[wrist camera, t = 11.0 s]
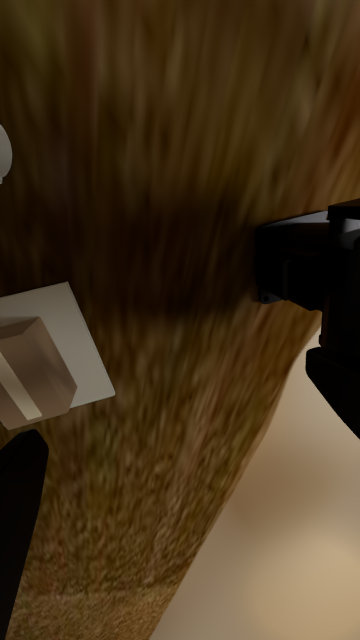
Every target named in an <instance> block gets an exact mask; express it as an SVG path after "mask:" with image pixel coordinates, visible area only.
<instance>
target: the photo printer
mask: <svg viewBox="0 0 360 640" xmlns="http://www.w3.org/2000/svg"><path fill="white" fill-rule="evenodd" d="M11 164H12V149H11V144H10V141H9V138H8V136H7V134H6V132H5V130H4V128H3V127H2V126H1V124H0V184H2V177H5V176H6V175H7V173H8V172H9V170H10V167H11Z"/></svg>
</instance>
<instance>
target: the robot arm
mask: <svg viewBox="0 0 360 640" xmlns="http://www.w3.org/2000/svg"><path fill="white" fill-rule="evenodd" d="M327 215H328V218H327V219H326V216H327ZM262 229H263V230H264V234H263V235H262V236H261V234H260V232H261V230H262ZM255 245H256V254H255V256H254V263H255V280H256V286H258V298H259V301H260V302H261V303H262V304H269V303H272V302H276V301H280V300H285V301H287V300H289V301H291V302H293V303H295V304H297V305H299V306H301V307H303V308H305V309H307V310H309V311H313V310H319V311H321V312H322V324H321V334H320V335H319V344H320V346H321V347H316V348H312V349H309V350H308V351H307V352H306V367H305V368H306V373H307V375H308V377H309V378H310V379H311V381H312V382H313V383H314V385H315V386H316V387H317V389H318V390H319V391H320V393H321V394H322V395H323V397H324V398H325V399H326V401H327V402H328V403H329V405H330V406H331V407H332V409H333V410H334V411H335V412H336V413H337V415H338V416H339V417H340V418H341V419H342V421H343V422H344V423H345V424H346V425H347V426H348V427H349V428H350V429H351V431H353V433H354V434H355V435H356V436H357V437H358V438H359V439H360V198H359V199H355V200H350V201H346V202H342V203H338V204H333V205H329V206H328V210H325V211H321V212H316V213H312V214H308V215H304V216H299V217H295V218H291V219H287V220H282V221H278V222H274V223H270V224H265V225H261V226H259V227H257V229H256V231H255ZM265 296H266V299H265V300H263V299H264V297H265ZM48 454H49V449H48V445H47V443H46V442H45V441H44V439H43V438H42V436H41V435H40V433H39V432H38V430H36V429H29V430H26V431H22V432H20V433H18V434H17V435H16V436H15V437H14V438H13V439H12V440H11V441H10V442H8V443H7V444H6V445H5V446H4V447H3V448H2V449H1V450H0V640H5V637H6V633H7V630H8V626H9V622H10V618H11V614H12V611H13V607H14V603H15V599H16V595H17V592H18V588H19V584H20V580H21V576H22V573H23V569H24V565H25V561H26V557H27V554H28V550H29V546H30V542H31V538H32V535H33V531H34V527H35V523H36V519H37V515H38V511H39V506H40V501H41V496H42V490H43V484H44V478H45V472H46V466H47V460H48Z"/></svg>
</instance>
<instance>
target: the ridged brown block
mask: <svg viewBox="0 0 360 640" xmlns="http://www.w3.org/2000/svg"><path fill="white" fill-rule="evenodd" d="M76 390H77V385H76V383H75V381H74V379H73V377H72V375H71V373H70V372H69V370H68V368H67V366H66V364H65V362H64V360H63V358H62V357H61V355H60V353H59V351H58V349H57V347H56V345H55V343H54V342H53V340H52V338H51V336H50V334H49V332H48V330H47V328H46V326H45V325H44V323H43V321H42V319H41V317H36V318H32V319H29V320H25V321H21V322H17V323H13V324H9V325H6V326H2V327H0V420H1V422H2V423H3V424H4V425H5V427H6V428H7V429H8V430H11V429H14V428H18V427H21V426H24V425H28V424H31V423H34V422H38V421H41V420H45V419H48V418H51V417H55V416H58V415H62V414H65V413H68V412H69V409H70V406H71V403H72V401H73V398H74V395H75V392H76Z"/></svg>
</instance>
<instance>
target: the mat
mask: <svg viewBox="0 0 360 640" xmlns="http://www.w3.org/2000/svg"><path fill="white" fill-rule="evenodd" d="M36 317H41V319H42V321H43V323H44V325H45V326H46V328H47V330H48V332H49V334H50V336H51V338H52V340H53V342H54V343H55V345H56V347H57V349H58V351H59V353H60V355H61V357H62V358H63V360H64V362H65V364H66V366H67V368H68V370H69V372H70V373H71V375H72V377H73V379H74V381H75V383H76V385H77V390H76V392H75V395H74V398H73V401H72V403H71V406H70V408H72V407H75V406H79V405H82V404H86V403H90V402H93V401H97V400H100V399H104V398H107V397H111V396H114V395H115V391H114V389H113V386H112V384H111V382H110V379H109V377H108V375H107V372H106V370H105V367H104V365H103V363H102V360H101V358H100V356H99V353H98V351H97V349H96V346H95V344H94V342H93V339H92V337H91V335H90V332H89V330H88V328H87V325H86V323H85V321H84V318H83V316H82V314H81V311H80V309H79V307H78V304H77V302H76V300H75V297H74V295H73V292H72V290H71V288H70V285H69V283H68V282H63V283H59V284H55V285H51V286H47V287H42V288H38V289H34V290H30V291H26V292H21V293H17V294H13V295H9V296H5V297H1V298H0V327H2V326H6V325H9V324H13V323H17V322H21V321H25V320H29V319H32V318H36ZM0 421H1V420H0ZM3 425H4V424H3ZM4 426H5V425H4Z"/></svg>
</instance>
